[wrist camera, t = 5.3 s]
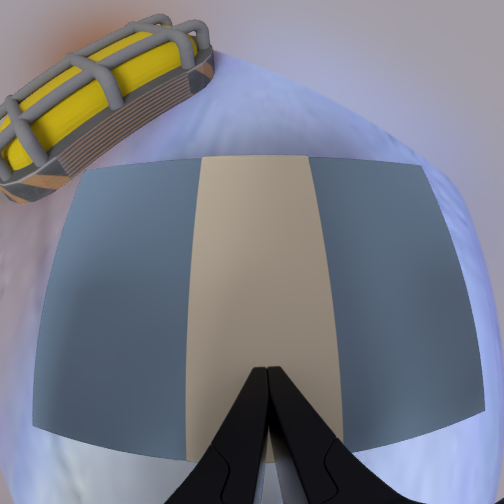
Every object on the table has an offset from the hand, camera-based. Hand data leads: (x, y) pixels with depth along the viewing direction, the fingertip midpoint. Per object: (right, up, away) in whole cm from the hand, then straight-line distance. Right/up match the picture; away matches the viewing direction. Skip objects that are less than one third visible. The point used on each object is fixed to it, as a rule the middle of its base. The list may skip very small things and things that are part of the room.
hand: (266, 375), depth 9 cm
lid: (0, +2, +3) cm, 4 cm away
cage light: (-18, +20, +20) cm, 33 cm away
